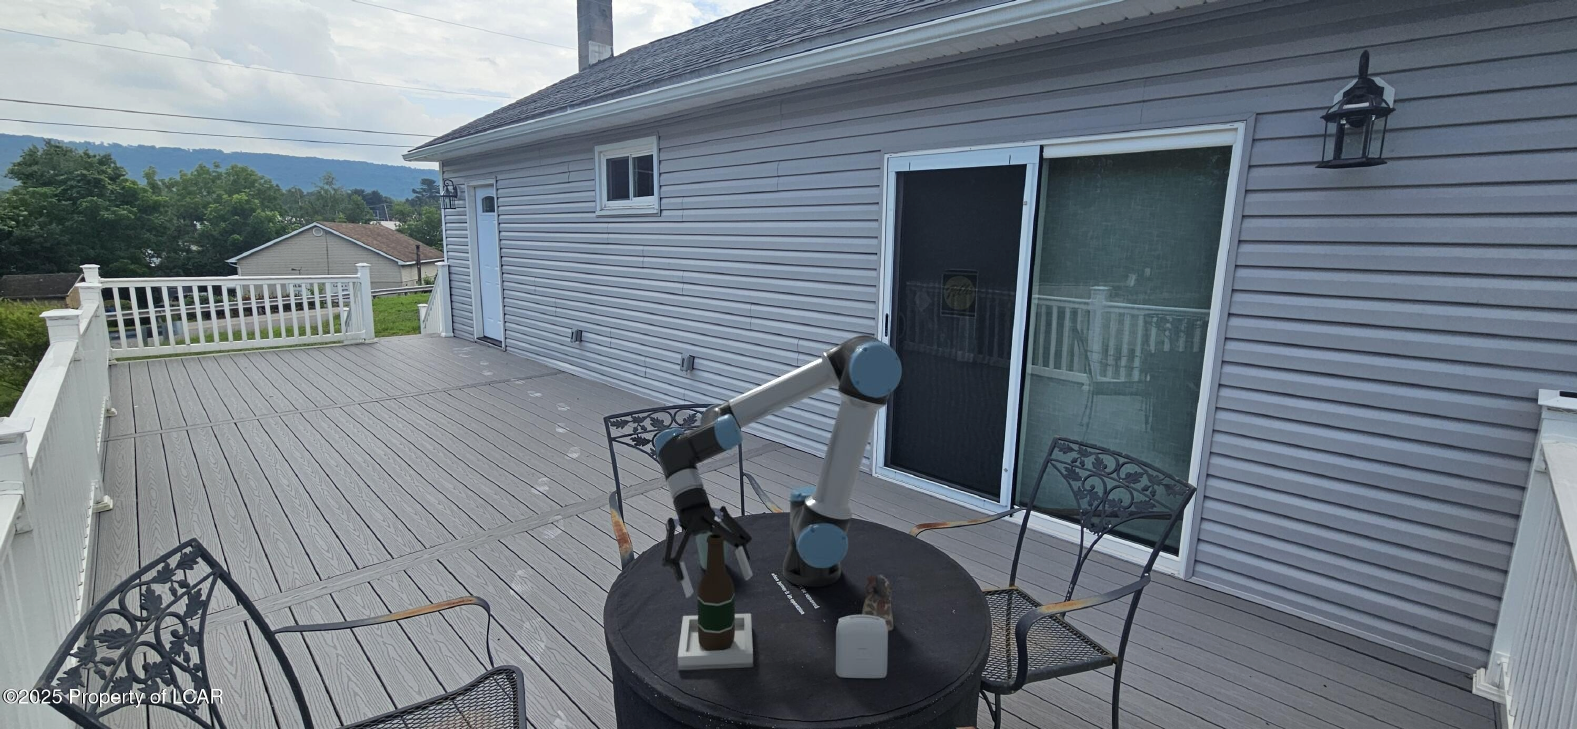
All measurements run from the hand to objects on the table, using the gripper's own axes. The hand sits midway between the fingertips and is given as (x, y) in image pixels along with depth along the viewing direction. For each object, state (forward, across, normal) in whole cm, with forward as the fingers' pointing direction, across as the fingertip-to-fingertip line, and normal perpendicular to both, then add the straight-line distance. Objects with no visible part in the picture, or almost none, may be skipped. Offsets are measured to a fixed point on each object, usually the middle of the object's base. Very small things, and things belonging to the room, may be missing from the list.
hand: (720, 586), depth 138 cm
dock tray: (+9, 0, -12) cm, 15 cm away
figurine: (+17, -35, -4) cm, 39 cm away
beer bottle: (+8, 0, -11) cm, 14 cm away
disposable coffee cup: (-15, -16, -36) cm, 42 cm away
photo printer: (+26, -20, +4) cm, 33 cm away
